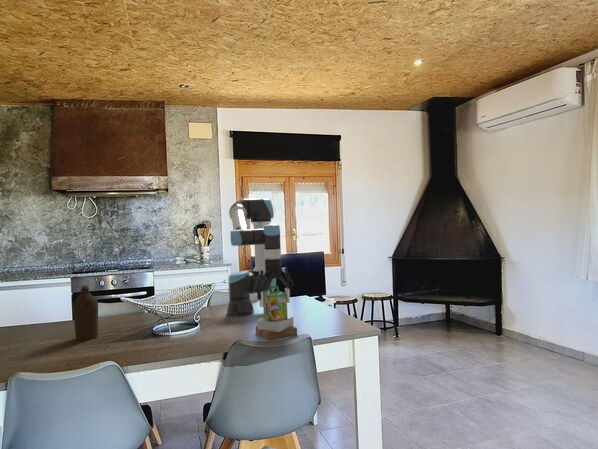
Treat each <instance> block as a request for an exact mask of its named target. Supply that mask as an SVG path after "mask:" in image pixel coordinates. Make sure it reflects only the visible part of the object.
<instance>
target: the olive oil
mask: <svg viewBox="0 0 598 449" xmlns="http://www.w3.org/2000/svg"><path fill="white" fill-rule="evenodd" d="M72 313H73V321H74V332H75V340H76V341H82V342H83V341H89V340H93V339H96V338H98V337H99V303H98V300H97V298H96V297H95V296H94V295H92V294H91V293H90V288H89V284H82V285H80V294H79V296H77V298H76V299H75V300H74V302H73V305H72Z"/></svg>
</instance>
